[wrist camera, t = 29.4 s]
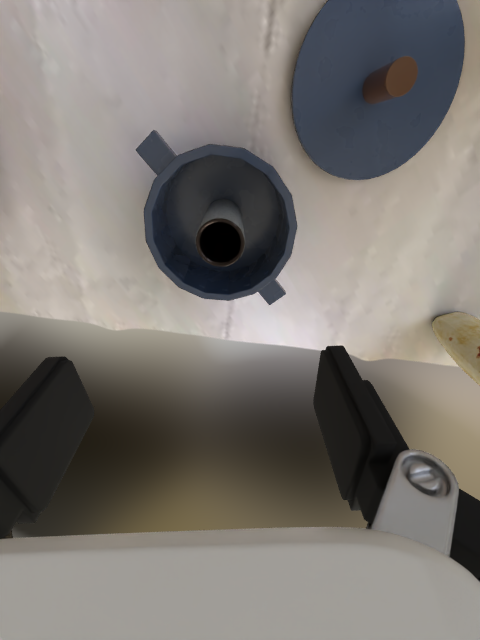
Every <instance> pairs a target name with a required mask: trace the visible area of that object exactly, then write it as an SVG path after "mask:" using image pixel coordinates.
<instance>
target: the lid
mask: <svg viewBox="0 0 480 640" xmlns="http://www.w3.org/2000/svg"><path fill="white" fill-rule="evenodd" d="M464 46H465V38H464V26H463V21H462V15H461V12H460V9H459V6H458V3H457V0H328V1H327V2H326V3H325V5H324V6H323V7H322V9H321V10H320V12H319V13H318V15H317V16H316V18H315V19H314V21H313V23H312V25H311V27H310V28H309V30H308V32H307V34H306V36H305V39H304V41H303V43H302V46H301V48H300V52H299V55H298V58H297V61H296V65H295V70H294V75H293V82H292V114H293V120H294V125H295V129H296V132H297V135H298V138H299V140H300V142H301V144H302V146H303V148H304V150H305V151H306V153H307V154H308V156H309V157H310V158H311V159H312V161H313V162H314V163H315V164H316V165H318V166H319V167H320V168H321V169H323V170H324V171H326V172H328V173H329V174H331V175H334V176H337V177H339V178H344V179H349V180H364V179H371V178H375V177H378V176H381V175H384V174H386V173H389V172H390V171H392V170H394V169H396V168H398V167H399V166H401V165H402V164H404V163H405V162H407V161H408V160H409V159H410V158H412V157H413V156H414V155H415V154H416V153H417V152H418V151H419V150H420V149H421V148H422V147H423V146H424V145H425V144H426V143H427V142H428V141H429V139H430V138H431V137H432V136H433V134H434V133H435V131H436V130H437V129H438V127H439V126H440V124H441V122H442V121H443V119H444V117H445V115H446V114H447V112H448V110H449V107H450V105H451V103H452V101H453V99H454V96H455V93H456V90H457V87H458V84H459V80H460V76H461V72H462V66H463V60H464Z"/></svg>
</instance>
